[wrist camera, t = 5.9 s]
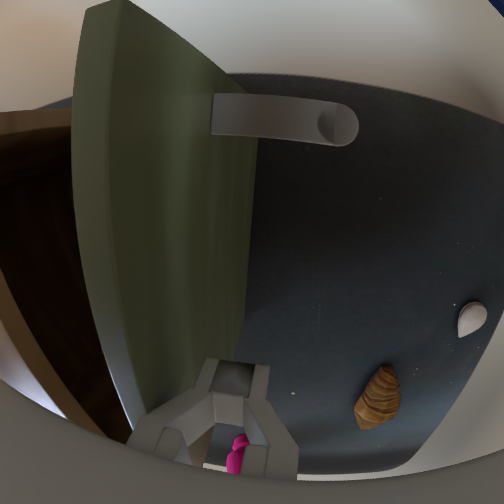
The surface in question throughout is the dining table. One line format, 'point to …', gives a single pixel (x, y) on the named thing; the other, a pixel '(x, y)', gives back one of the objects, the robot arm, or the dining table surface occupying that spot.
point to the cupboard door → (169, 198)
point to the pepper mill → (237, 454)
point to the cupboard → (48, 279)
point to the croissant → (378, 399)
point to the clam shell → (471, 318)
